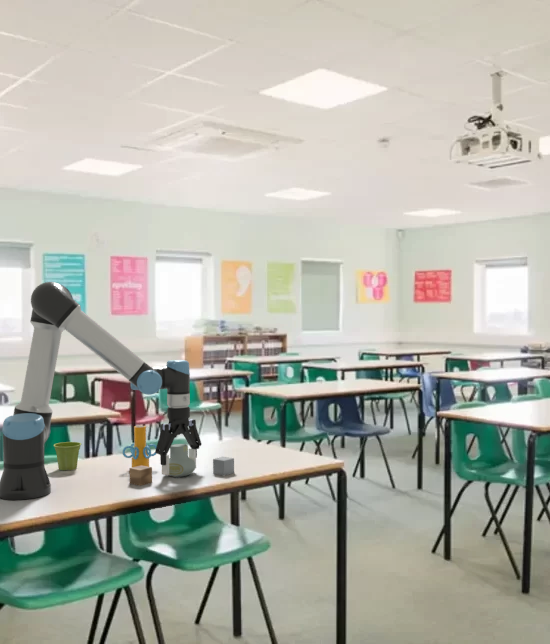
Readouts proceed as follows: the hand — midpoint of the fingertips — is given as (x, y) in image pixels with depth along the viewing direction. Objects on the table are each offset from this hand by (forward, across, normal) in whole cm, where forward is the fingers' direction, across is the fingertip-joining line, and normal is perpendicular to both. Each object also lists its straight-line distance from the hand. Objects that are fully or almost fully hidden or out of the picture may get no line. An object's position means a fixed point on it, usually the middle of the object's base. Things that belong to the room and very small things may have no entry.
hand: (179, 471), depth 235 cm
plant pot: (+2, -16, +39) cm, 42 cm away
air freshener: (+2, 0, 0) cm, 2 cm away
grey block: (+1, +11, -10) cm, 15 cm away
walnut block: (+1, -15, +2) cm, 15 cm away
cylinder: (+1, -2, +17) cm, 17 cm away
